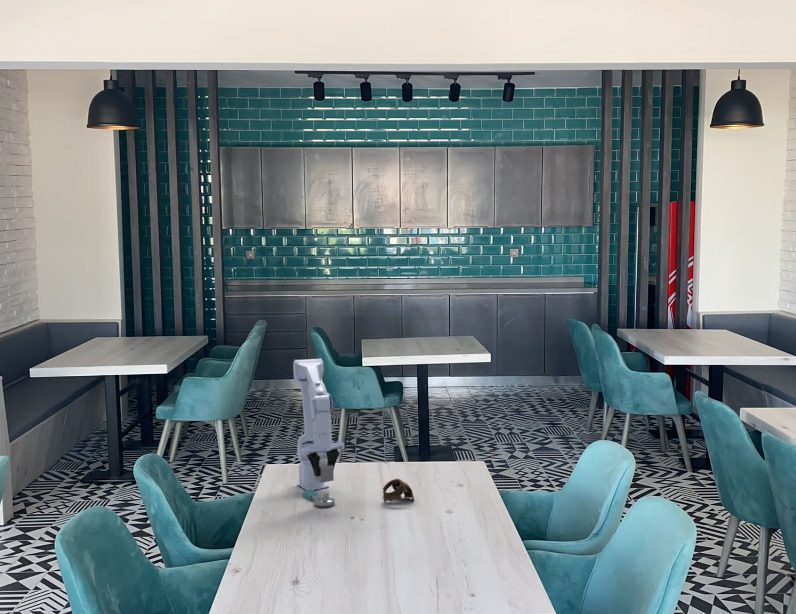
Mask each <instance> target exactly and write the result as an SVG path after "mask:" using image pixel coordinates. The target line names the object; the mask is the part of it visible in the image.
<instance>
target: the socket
mask: <svg viewBox="0 0 796 614" xmlns="http://www.w3.org/2000/svg"><path fill="white" fill-rule="evenodd" d="M315 480H317V481H319V482H321V483H323V482H324V483H327V482H332V481H334V480H335V477H334V471H333V465H332V464H330V463H328V461H325V462H324V463H319V476H318V477H317V476H315Z"/></svg>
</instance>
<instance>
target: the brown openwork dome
mask: <svg viewBox="0 0 796 614" xmlns="http://www.w3.org/2000/svg"><path fill="white" fill-rule="evenodd" d="M390 487H391V488H392V489H393V491H391V492H387V490H388V489H389V488H390ZM382 490H383V491H382V493H383V497H382V498H383V501H384V503H387V502H390V501H395V500H396V499H402V495H403V496H404V498H405V497H408V498H411V499H412V502H413V501H414V502H415V497H414V493H413V490H412V487H411V486H410V485H409V484H408V483H407V482H404V481H403V480H402V479H400V478H394V479H391V480H390V481H388V482H387V483H385V485H384V486H383V488H382ZM408 498H407V499H408Z"/></svg>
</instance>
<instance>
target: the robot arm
mask: <svg viewBox="0 0 796 614" xmlns="http://www.w3.org/2000/svg"><path fill="white" fill-rule="evenodd" d="M292 365H293V366H292V367H293V368H292V369H293V381H294V384H295V385H298V386H299V387H300V390H301V398H302V400H301V401H302V414H303V423H304V424H303V425H304V426H303V427H304V433H303V434H302V435H301V436H300V437H299V438H298V440H297V447H296V449H297V458H298V460H299V462H300V463H299V465H298V482H297V483H296V485H297V484H298V485H299V486H298V485H297V486H298V487H300V486H301V488H302V489H303V490H305V491H306V490H313V491H316V489H317V490H321V488H322V489H326V487H327V488H329V487H330V485H329V484H327V483H326V482H323V483H321V482H319V481H317V480H315V476H317V477H318V476H319V463H325V462H326V461H325V460H327V462H328V463H330V464H332V465H333V472H334V470H335V466H336V462H337V460H338V458H339V456H340V451H339V450H345V443H344V442H332V415H331V414H332V412H333V407H334V406H333V398H332V395H331V394H330V393H329V392H328V391H327V388H326V385H325V383H324V382H323V381H322V379H323V376H324V373H325V372H324V371H325V370H324V369H325V368H324V367H325V366H324V360H323V359H322V358H321V357H319V358H310V359H309V358H308V359H294V361H293V363H292Z"/></svg>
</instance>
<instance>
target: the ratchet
mask: <svg viewBox="0 0 796 614" xmlns="http://www.w3.org/2000/svg"><path fill="white" fill-rule="evenodd" d="M304 496H305V497H304ZM302 497H304V498H306V499H307V498H308V500H309V499H310V500H309V501H312V502H313V503H314V506H315V508H318V509H319V508H320V509H326V508H327V509H328V508H332V507H334V506H335V503H336V499H335V498H334V497H331V496H330V493H329V492H328V491H325V490H324V491H320V493H319V492H317V491H316V490H306V489H305V490H302Z"/></svg>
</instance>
